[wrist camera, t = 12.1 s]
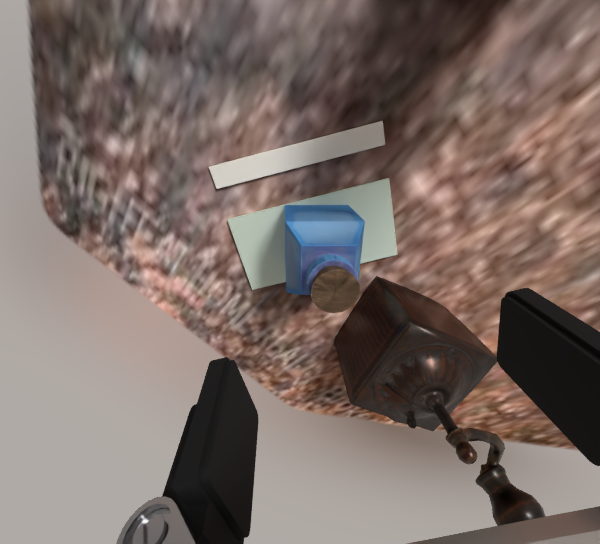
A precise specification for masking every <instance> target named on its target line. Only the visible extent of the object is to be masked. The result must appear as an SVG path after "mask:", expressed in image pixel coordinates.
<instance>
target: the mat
mask: <svg viewBox="0 0 600 544" xmlns="http://www.w3.org/2000/svg"><path fill="white" fill-rule="evenodd" d="M285 205H349V206H350V207H351V208H352V209H353V210H354V211H355V212H356V213H357V214H358V215H359V216H360V217H361V218H362V219H363V220H364V221H365V224H364V233H363V243H362V253H361V262H360V264H361V263H365V262H369V261H373V260H377V259H381V258H386V257H390V256H394V255H397V247H396V237H395V228H394V219H393V209H392V200H391V190H390V181H389V178H385V179H381V180H377V181H374V182H370V183H366V184H362V185H358V186H354V187H350V188H346V189H342V190H339V191H335V192H331V193H327V194H323V195H319V196H315V197H311V198H307V199H304V200H300V201H296V202H292V203H288V204H284V205H280V206H276V207H272V208H268V209H265V210H261V211H257V212H253V213H249V214H245V215H241V216H237V217H233V218H230V219H228V223H229V226H230V229H231V231H232V234H233V237H234V240H235V243H236V246H237V248H238V251H239V254H240V257H241V260H242V262H243V265H244V268H245V271H246V274H247V276H248V279H249V282H250V285H251V288H252V290H254V289H258V288H263V287H267V286H271V285H275V284H279V283H283V282H286V266H285Z"/></svg>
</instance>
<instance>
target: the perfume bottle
mask: <svg viewBox="0 0 600 544" xmlns="http://www.w3.org/2000/svg"><path fill="white" fill-rule="evenodd" d="M364 224H365V221H364V220H363V219H362V218H361V217H360V216H359V215H358V214H357V213H356V212H355V211H354V210H353V209H352V208H351V207H350V206H349V205H285V266H286V292H287V293H293V294H299V295H311V297H312V300H313V302H314V304H315V305H316V306H317V307H318V308H319V309H320V310H323V311H325V312H328V313H339V312H343V311H345V310H347V309H349V308H350V307H351V306H353V305H354V304H355V302H356V301H357V299H358V297H359V294H360V285H359V282H358V281H359V272H360V262H361V253H362V243H363V233H364Z"/></svg>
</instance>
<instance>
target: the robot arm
mask: <svg viewBox="0 0 600 544" xmlns="http://www.w3.org/2000/svg"><path fill="white" fill-rule="evenodd" d="M497 361H498V363H499V365H500V367H501V368H502V369H503V370H504V371H505V372H506V373H507V374H508V375H509V376H510V377H511V379H512V380H513V381H514V382H515V383H516V384H517V385H518V386H519V387H520V388H521V389H522V390H523V391H524V392H525V393H526V394H527V395H528V397H529V398H530V399H531V400H532V401H533V402H534V403H535V404H536V405H537V406H538V407H539V408H540V409H541V410H542V411H543V412H544V413H545V415H546V416H547V417H548V418H549V419H550V420H551V421H552V422H553V423H554V424H555V425H556V426H557V427H558V428H559V429H560V430H561V431H562V433H563V434H564V435H565V436H566V437H567V438H568V439H569V440H570V441H571V442H572V443H573V444H574V445H575V446H576V447H577V448H578V449H579V450H580V452H581V453H582V454H583V455H584V456H585V457H586V458H587V459H588V460H589V461H590V462H592V463H593V464H595V465H597V466H600V332H599V331H597V330H596V329H594V328H592V327H591V326H589V325H587V324H586V323H584V322H583V321H581V320H579V319H578V318H576V317H575V316H573V315H571V314H570V313H568V312H567V311H565V310H563V309H562V308H560V307H558V306H557V305H555V304H554V303H552V302H550V301H549V300H547V299H546V298H544V297H542V296H541V295H539V294H538V293H536V292H534V291H533V290H531V289H529V288H523V289H519V290H515V291H510V292H508V293H506V295H505V297H504V298H503V299H502V301H501V311H500V323H499V336H498V348H497ZM257 430H258V413H257V410H256V408H255V405H254V403H253V401H252V399H251V397H250V395H249V392H248V390H247V387H246V386H245V383H244V381H243V379H242V376H241V374H240V372H239V369H238V367H237V365H236V363H235V361H234V360H231V361H230V360H229V358H228V357H226V358H222V359H217V360H213V361H211V362H210V363H209V366H208V370H207V373H206V376H205V380H204V383H203V386H202V390H201V393H200V396H199V399H198V402H197V404H196V405H194V406H193V407H192V408H191V410H190V412H189V416H188V419H187V422H186V425H185V428H184V431H183V434H182V437H181V440H180V443H179V446H178V450H177V452H176V456H175V459H174V462H173V465H172V468H171V471H170V474H169V477H168V480H167V484H166V486H165V490H164V493H163V496H162V497H157V498H154V499H152V500H150V501H148V502H146V503H145V504H144V505H142V506H141V507H140V508H138V510H137V511H136V512H135V513H134V514H133V515H132V516H131V517H130V518H129V520H128V521H127V523H126V524H125V526H124V527H123V529H122V532H121V534H120V536H119V538H118V540H117V544H243V542H244V538H245V537H248V536H249V532H250V524H251V511H252V498H253V485H254V471H255V457H256V445H257V432H258V431H257ZM409 544H600V507H594V508H589V509H584V510H579V511H573V512H568V513H562V514H557V515H552V516H547V517H541V518H536V519H531V520H526V521H521V522H516V523H510V524H505V525H500V526H495V527H490V528H485V529H480V530H474V531H469V532H465V533H459V534H454V535H449V536H444V537H439V538H434V539H429V540H424V541H418V542H413V543H409Z"/></svg>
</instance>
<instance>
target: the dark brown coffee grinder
mask: <svg viewBox="0 0 600 544" xmlns="http://www.w3.org/2000/svg"><path fill="white" fill-rule="evenodd" d="M334 346H335V347H336V350H337V354H338V358H339V362H340V366H341V370H342V374H343V378H344V382H345V385H346V389H347V393H348V397H349V401H350V403H351V404H353V405H356V406H358V407H361V408H364V409H367V410H369V411H372V412H375V413H378V414H381V415H384V416H387V417H389V418H390V419H392V420H393V421H396V422H399V423H405V424H408V426H409V427H411V428H415V427H416V426H418V427H421V428H424V429H427V430H431V431H434V430H435V429H436V428H437V427H438V426H439V425H440V424H441V423H442V425H443V426H444V428H445V430H446V431H447V434H448V435H447V436H446V440H447V441H448V442H449V443H450V444H451V445H452V446H453V447H454V448H456V453H457V455H458V457H459V459H460V460H461V461H463V462H464V463H466V464H472V463H474V462H475V461H476V459H477V453H476V451H475V450H474V449H473V447H472V446H471V445H470V444H469V443H468V441H478V440H479V441H484V442H487V443H489V444H490V449H489V453H488V459H487V463H486V464H485V465H481V471H480V475H479V476H478V478H477V479H476V483H477V484H478V485H479V486H481V487H482V488H483V489H484V490H485V491H486V492H487V494H488V495H489V497H490V501H491V504H492V510H493V517H494V520H495V522H496V524H497V526H500V525H505V524H510V523H516V522H521V521H526V520H531V519H536V518H541V517H546V516H545V514H544V511H543V508H542V507H541V505H540V504H539V503H538V502H537V501H536V499H535V498H534V497H532V496H531V495H529V494H527V493H525V492H523V491H521V490H519V489H517V488H516V487H514V486H513V485H512V484H511V483H510V481H509V480H508V478H507V476H506V471H505V469H504V468H503V467H502V466H501V465H499V461H500V459H501V457H502V455H503V452H504V449H505V447H504V443H503V442H502V440H501V439H500V437H499V436H498V435H497V434H494V433H491V432H487V431H483V430H479V429H474V428H466V429H462V428H459V429H458V427H457V426H456V424H455V423H454V421H453V420H452V418H451V417H450V413H451V412H452V411H453V410H454V409H455V408H456V407H457V406H458V405H459V404H460V403H461V402H462V401H463V400H464V399H465V397H466V396H467V395H468V394H469V393H470V392H471V391H472V390H473V389H474V388H475V387H476V385H477V384H478V383H479V382H480V381H481V380H482V379H483V377H484V376H485V375H486V374H487V373H488V372H489V370H490V369H491V368H492V367H493V366H494V364H495V363H496V362H497V357H496V356H495V355H494V354H493V353H492V352H491V351H490V350H489V349H488V348H487V347H486V346H485V345H484V344H483V343H482V342H481V341H480V340H479V339H478V338H477V337H476V336H475V335H474V334H473V333H472V332H471V331H470V330H469V329H468V328H467V327H466V326H465V325H464V324H463V323H462V322H461V321H459V320H458V319H457V318H456V317H455V316H454V315H453V314H452V313H450V311H449V310H448V309H447V308H445V307H444V306H442V305H441V304H439V303H438V302H436V301H434V300H432V299H430V298H428V297H426V296H423V295H421V294H419V293H417V292H414V291H412V290H410V289H408V288H405V287H403V286H400V285H398V284H395V283H393V282H390V281H388V280H385V279H383V278H380V277H378V276H376V278H375V279H374V280H373V282H372V283H371V284H370V285H369V287H368V288H367V289H366V291H365V292H364V294H363V295H362V297H361V298H360V300H359V302H358V303H357V305H356V306H355V308H354V309H353V311H352V312H351V314H350V315H349V317H348V318H347V320H346V322H345V323H344V325H343V326H342V328H341V329H340V331H339V333H338V334H337V336H336V339H335V343H334Z"/></svg>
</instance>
